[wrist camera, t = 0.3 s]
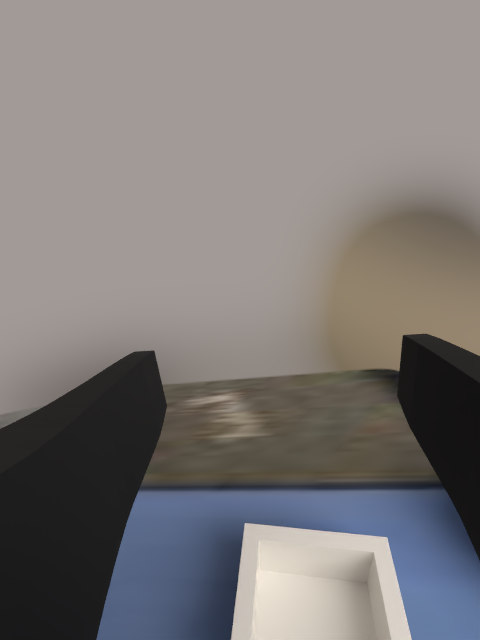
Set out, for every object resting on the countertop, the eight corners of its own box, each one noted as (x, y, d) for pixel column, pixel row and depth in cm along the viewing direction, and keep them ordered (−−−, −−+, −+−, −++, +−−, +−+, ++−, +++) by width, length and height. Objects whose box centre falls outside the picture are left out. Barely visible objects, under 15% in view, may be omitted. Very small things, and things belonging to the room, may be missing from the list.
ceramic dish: (421, 789, 16) (441, 761, 14) (226, 752, 17) (221, 722, 15) (378, 573, 24) (387, 537, 22) (246, 558, 25) (244, 523, 23)
